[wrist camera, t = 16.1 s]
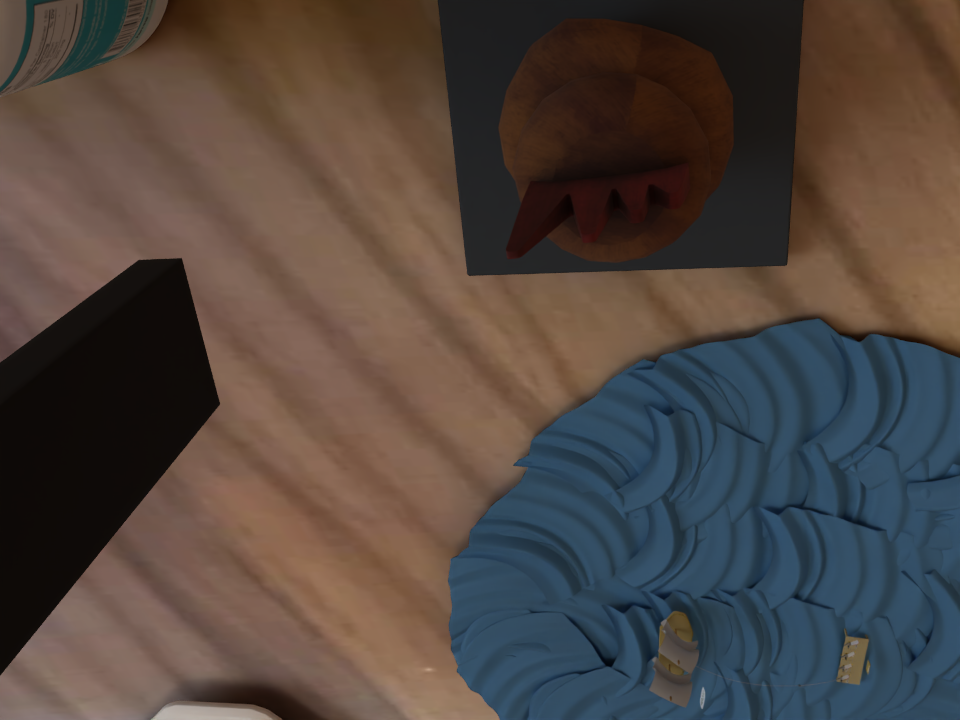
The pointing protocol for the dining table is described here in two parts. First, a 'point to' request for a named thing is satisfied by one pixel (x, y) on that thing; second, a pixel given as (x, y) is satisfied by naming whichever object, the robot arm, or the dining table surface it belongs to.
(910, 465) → the blue ocean wave diorama
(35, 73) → the pill bottle
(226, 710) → the plate
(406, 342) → the dining table surface
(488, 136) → the mat
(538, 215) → the wooden figurine
